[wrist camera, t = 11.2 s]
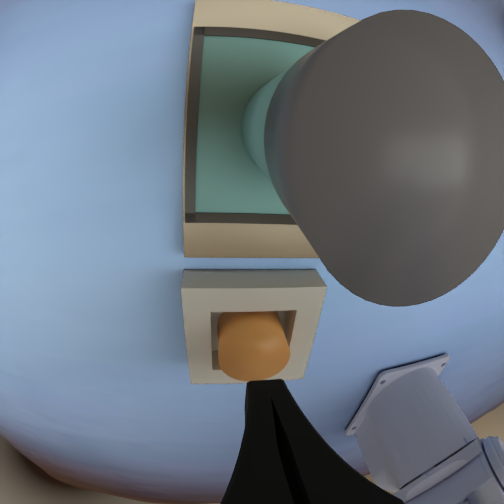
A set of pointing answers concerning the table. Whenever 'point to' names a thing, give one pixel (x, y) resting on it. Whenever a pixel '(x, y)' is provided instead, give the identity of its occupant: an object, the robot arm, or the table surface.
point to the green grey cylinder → (388, 154)
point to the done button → (251, 345)
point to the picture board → (229, 124)
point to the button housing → (249, 300)
